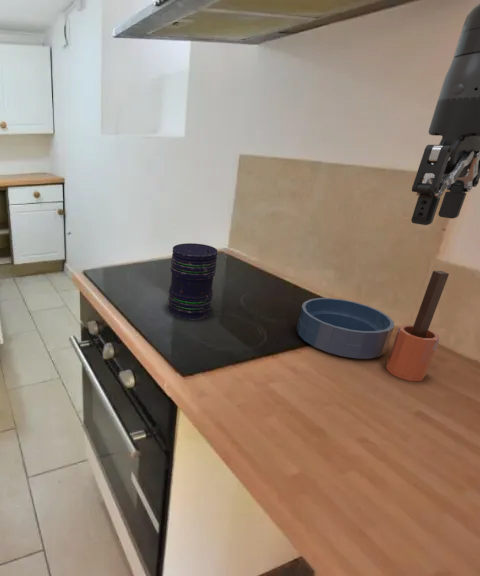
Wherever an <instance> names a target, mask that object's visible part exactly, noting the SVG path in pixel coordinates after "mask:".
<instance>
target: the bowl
mask: <svg viewBox="0 0 480 576" xmlns="http://www.w3.org/2000/svg"><path fill="white" fill-rule="evenodd" d="M394 328H395V321H394V320H393V319H392V318H391V317H390V316H389V315H387V314H386V313H385V312H383V311H382V310H379V309H377V308H374V307H372V306H369V305H367V304H364V303H360V302H357V301H354V300H353V301H352V300H348V299H343V298H333V297H316V298H311V299H308V300H305V301H304V302H303V303H302V304H301V307H300V313H299V317H298V321H297V325H296V332H297V334H298V336H299V337H300V338H301V339H302V341H304V342H306V343H307V344H309V345H311V346H312V347H314V348H316V349H319V350H321V351H323V352H325V353H328V354H332V355H336V356H340V357H344V358H351V359H357V360H360V359H365V360H366V359H367V360H368V359H375V358H379V357H382V356H383V355H384V354H385V353H386V352H387V349H388V346H389V343H390V340H391V337H392V335H393V331H394Z"/></svg>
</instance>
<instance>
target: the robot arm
mask: <svg viewBox="0 0 480 576" xmlns="http://www.w3.org/2000/svg"><path fill="white" fill-rule="evenodd" d="M458 38H459V39H458V41H457V44H456V48H455V51H454V54H453V58H452V60H451V63H450V65H449V67H448V70H447V72H446V74H445V77H444V79H443V82H442V85H441V88H440V91H439V95H438V98H437V102H436V105H435V108H434V112H433V114H432V118H431V121H430V125H429V128H428V135H430V136H437V137H439V136H441V139H440V140H439V141H440V142H439V144H427V145H426V146H425V148H424V150H423V154H422V156H421V159H420V163H419V165H418V169H417V172H416V176H415V178H414V181H413V184H412V187H411V192H412V193H416V196H418V197H417V201H416V203H415V207H414V210H413V213H412V216H411V220H410V221H411V223H412V224H415V225H422V226H429V225H431V224H432V223H433V221H434V218H435V216H436V213H437V210H438V207H439V205H440V207H439V211H438V217H440V218H445V219H457V218H458V217H459V216H460V213H461V210H462V207H463V206H464V202H465V199H466V196H467V193H469V192H471V190H472V189H473V188H476V187H477V186H478V185H479V183H480V3H478V4H476V5H475V6H474V7H473V8H472V9H471V10H470V11H469V12H468V14H467V15H466V18H465V20H464V23H463V26H462V28H461V31H460V34H459V37H458ZM444 192H445V193H444ZM443 194H444V196H443V198H442V202H441V201H440V200H441V197H442V195H443ZM440 202H441V204H439V203H440Z"/></svg>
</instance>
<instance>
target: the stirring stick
mask: <svg viewBox="0 0 480 576" xmlns="http://www.w3.org/2000/svg"><path fill="white" fill-rule="evenodd" d="M449 275H450V273H448V272H446V271H444V270H433V271H432V272H431V275H430V278H429V281H428V285H427V286H426V289H425V293H424V295H423V298H422V301H421V304H420V306H419V309H418V312H417V315H416V318H415V321H414V323H413V325H414V326H413V329H412V332H411V335H414V336H417V337H421V338H425V337H426V334H427V332H428V329H429V328H430V326H431V323H432V321H433V319H434V315H435V313H436V310H437V308H438V305H439V302H440V300H441V297H442V294H443V292H444V289H445V286H446V284H447V281H448V278H449ZM429 330H430V329H429Z"/></svg>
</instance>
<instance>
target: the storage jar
mask: <svg viewBox="0 0 480 576" xmlns="http://www.w3.org/2000/svg"><path fill="white" fill-rule="evenodd" d="M218 252H219V251H218V249H217V247H214V246H212V245H208V244H204V243H191V242H189V243H188V242H185V243H179V244H176V245H174V246H173V247H172V254H171V262H170V264H171V266H170V272H171V279H170V280H171V282H170V286H169V287H168V297H167V298H168V299H167V300H168V307H167V308H168V309H167V310H168V312H169V313H170V315H173V316H174V317H176V318H179V319H183V320H191V321H192V320H193V321H194V320H195V321H197V320H202V319H203V320H204V319H205V318H208V317H209V316H210V314H211V307H212V304H213V296H214V291H213V283H214V277H215V275H216V271H217V270H216V269H217V264H218V263H217V259H218V257H217V256H218Z"/></svg>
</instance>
